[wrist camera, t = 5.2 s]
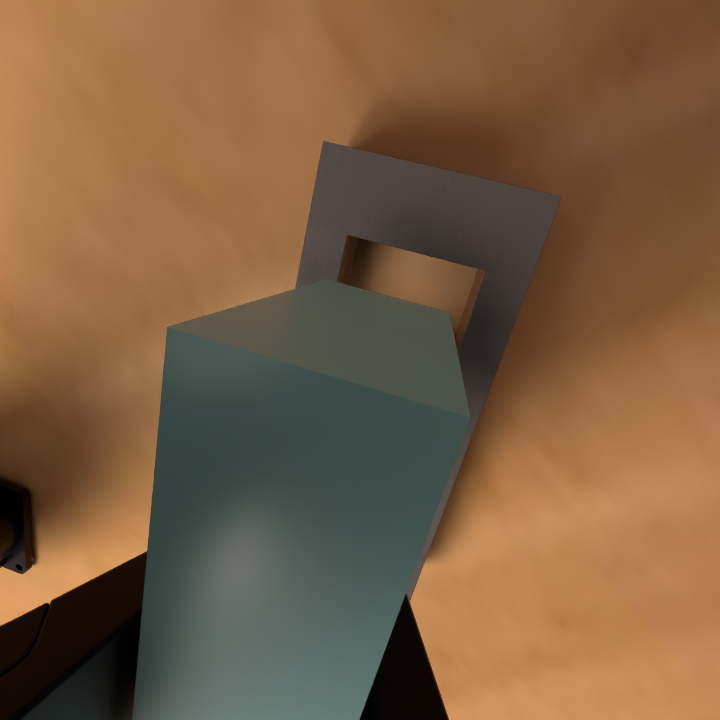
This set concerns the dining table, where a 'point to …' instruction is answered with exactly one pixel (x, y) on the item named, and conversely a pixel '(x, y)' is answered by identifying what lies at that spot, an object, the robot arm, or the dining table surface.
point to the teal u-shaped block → (292, 500)
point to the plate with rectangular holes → (433, 251)
